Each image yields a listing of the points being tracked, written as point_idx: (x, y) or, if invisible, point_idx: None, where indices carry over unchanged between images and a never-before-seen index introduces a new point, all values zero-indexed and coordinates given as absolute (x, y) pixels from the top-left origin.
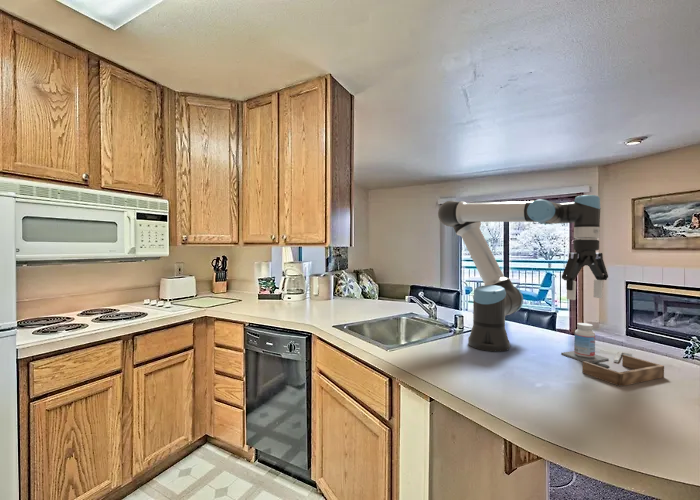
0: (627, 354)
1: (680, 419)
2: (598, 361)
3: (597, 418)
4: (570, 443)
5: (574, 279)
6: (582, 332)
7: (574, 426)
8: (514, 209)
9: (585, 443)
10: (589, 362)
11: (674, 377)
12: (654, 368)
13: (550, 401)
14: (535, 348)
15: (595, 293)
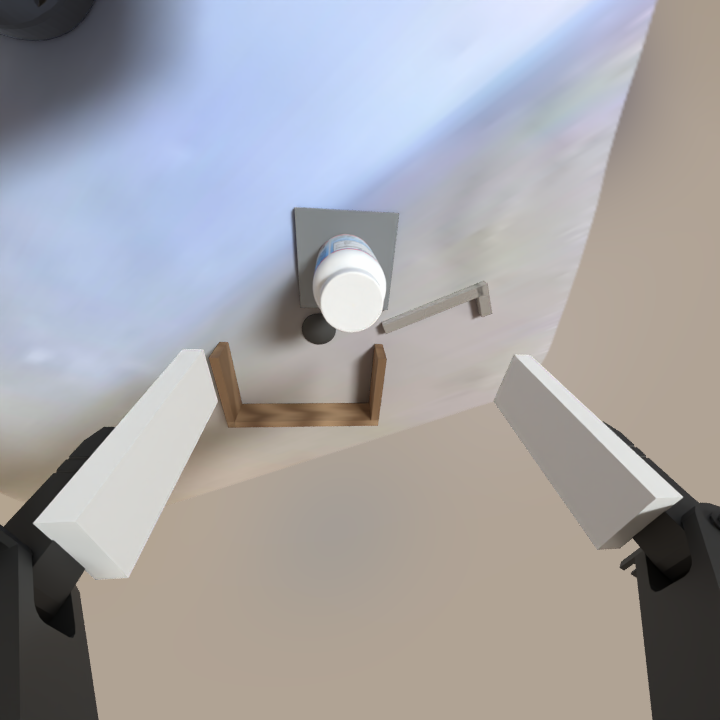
0: (479, 307)
1: (213, 481)
2: None
3: None
4: None
5: (81, 611)
6: (318, 303)
7: (24, 463)
8: None
9: (16, 484)
10: (304, 306)
11: (393, 413)
12: (343, 424)
13: (24, 411)
14: (249, 81)
15: (525, 388)
